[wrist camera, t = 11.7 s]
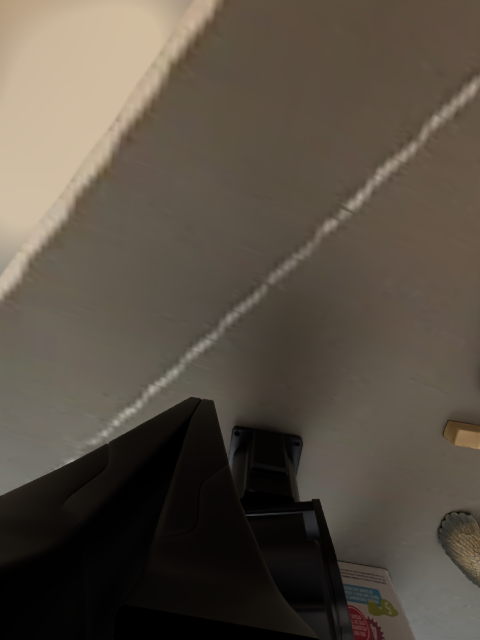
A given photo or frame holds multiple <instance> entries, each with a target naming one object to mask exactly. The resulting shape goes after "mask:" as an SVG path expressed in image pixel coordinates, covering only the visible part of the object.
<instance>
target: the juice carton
mask: <svg viewBox="0 0 480 640" xmlns="http://www.w3.org/2000/svg"><path fill="white" fill-rule="evenodd" d="M337 562H338V565H339V570H340V574H341V578H342V582H343V586H344V591H345V595H346V600H347V604H348V609H349V614H350V619H351V624H352V629H353V634H354V640H416V639H415V637H414V634H413V632H412V629H411V627H410V624H409V622H408V620H407V617H406V615H405V612H404V610H403V608H402V605H401V603H400V600H399V598H398V596H397V593H396V591H395V588H394V586H393V584H392V581H391V579H390V576H389V574H388V572H387V569H382V568H376V567H370V566H364V565H358V564H353V563H347V562H341V561H337Z"/></svg>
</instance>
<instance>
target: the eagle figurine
mask: <svg viewBox="0 0 480 640" xmlns="http://www.w3.org/2000/svg"><path fill="white" fill-rule="evenodd" d="M445 519H446V520H445V521H442V527H443V529H441V528H440V529H439V531H440V533H441V534H439V538H440V542H441V543H442V547H443V549H444V550H445V552H446V554H447V555H448V556H449V557H450V558H451V560H452V561H453V562H454V564H455V565H457V566H458V567H459V569H460V570H461V571H462V572H463V574H465V575H466V577H467V578H468V579H469V580H470V581H472V582H473V583H474V584H476V585H477V586H478V587H479V588H480V528H479V526H478V524H477V521H476V520H475V518H474V517H473V516H472V515H466V514H464V513H460V514H457V513H455V512H452V513H451V514H450V515H446V516H445Z"/></svg>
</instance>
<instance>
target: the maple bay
mask: <svg viewBox="0 0 480 640" xmlns="http://www.w3.org/2000/svg"><path fill="white" fill-rule="evenodd" d="M443 436H444V437H445V438H446V439H448V440H449V441H450V442H451V443H452V444H453V445H457V446H463V447H469V448H476V449H480V426H479V425H472V424H466V423H459V422H453V421H448V423H447V425H446V428H445V431H444V434H443Z"/></svg>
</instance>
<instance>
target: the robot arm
mask: <svg viewBox="0 0 480 640" xmlns="http://www.w3.org/2000/svg"><path fill="white" fill-rule="evenodd" d="M236 431H238V432H240V433H236ZM296 441H298V443H295V442H296ZM302 446H303V442H302V439H301V437H299V436H295V435H289V434H283V433H278V432H272V431H266V430H260V429H252V428H246V427H240V426H236V427H234V428H233V430H232V437H231V445H230V453H229V461H228V458H227V453H226V449H225V445H224V441H223V437H222V433H221V429H220V425H219V421H218V417H217V413H216V409H215V405H214V401H213V400H207V399H202V400H201V399H200V398H195V397H190V398H188V399H186V400H184V401H182V402H181V403H179V404H177V405H175V406H173V407H172V408H170V409H168V410H166V411H164V412H163V413H161V414H159V415H157V416H155V417H154V418H152V419H150V420H148V421H146V422H145V423H143V424H141V425H139V426H137V427H136V428H134V429H132V430H130V431H128V432H127V433H125V434H123V435H121V436H119V437H118V438H116V439H114V440H112V441H110V442H109V444H105V445H103V446H101V447H99V448H98V449H96V450H94V451H92V452H90V453H88V454H86V455H85V456H83V457H81V458H79V459H77V460H75V461H73V462H71V463H69V464H67V465H65V466H63V467H61V468H59V469H57V470H55V471H53V472H51V473H49V474H46V475H44V476H42V477H40V478H38V479H36V480H34V481H31V482H29V483H27V484H25V485H23V486H21V487H19V488H17V489H14V490H12V491H10V492H8V493H6V494H4V495H2V496H0V640H354V634H353V629H352V624H351V619H350V614H349V609H348V604H347V600H346V595H345V591H344V586H343V582H342V578H341V574H340V570H339V565H338V562H337V558H336V554H335V550H334V547H333V543H332V540H331V537H330V533H329V530H328V527H327V523H326V520H325V516H324V513H323V510H322V506H321V503H320V500H319V499H312V501H306V502H300V498H299V492H298V486H297V480H296V475H297V470H298V465H299V460H300V456H301V451H302Z"/></svg>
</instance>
